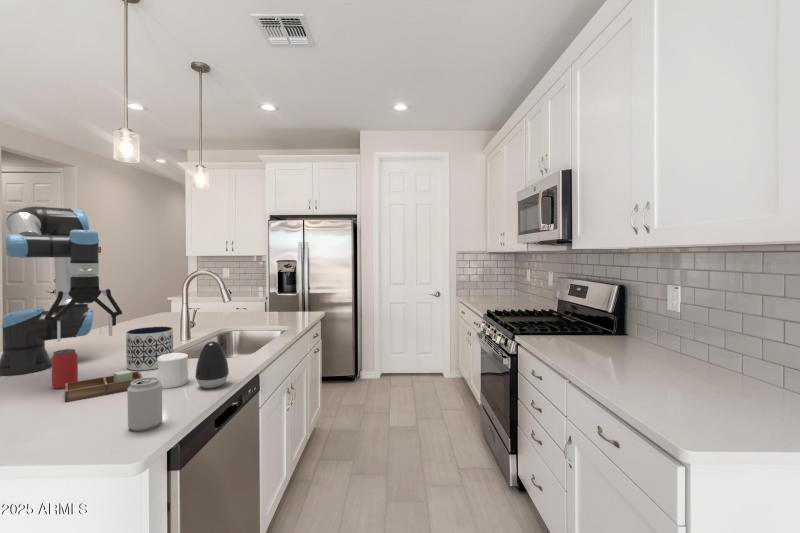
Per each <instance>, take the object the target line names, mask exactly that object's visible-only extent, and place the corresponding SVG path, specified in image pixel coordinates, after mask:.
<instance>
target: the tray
mask: <svg viewBox="0 0 800 533" xmlns="http://www.w3.org/2000/svg"><path fill="white" fill-rule="evenodd" d="M132 372H133V371H132ZM141 378H144V377H143V375H142V373H141V372H140V371H134V372H133V380H128V381H122V382H116V383H114V375H107V376H104V377H95V378H90V379H83V380H78V381H77V382H70V383H65V388H64V398H65V399H64V401H65V403H68V402H69V401H70V402H73V401H74V402H75V401H79V400H80V401H81V400H86V399H91V398H95V397H96V398H97V397H100V396H101V397H102V396H106V395H112V394H117V393H118V394H119V393H123V392H127V389H128V388H129V387H130V386H131V384H130V383H131V382H132V381H134V380H137V379H141Z"/></svg>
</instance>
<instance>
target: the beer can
mask: <svg viewBox="0 0 800 533" xmlns="http://www.w3.org/2000/svg"><path fill="white" fill-rule="evenodd" d="M51 356H52V357H51V387H52V388H53V389H56V390H62V389H64V390H65V383H70V382H77V381H79V374H78V373H79V372H78V370H79V368H78V365H79V364H78V353H77V352H76V349H73V348H68V349H67V348H65V349H59V350H56V351H54V352H53V355H51Z"/></svg>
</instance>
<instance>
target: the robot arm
mask: <svg viewBox="0 0 800 533" xmlns="http://www.w3.org/2000/svg"><path fill="white" fill-rule="evenodd" d="M5 224H6V228H7V230H8V231H9V232H10V234H7V235H6V236H5V254H6V256H7V257H8V258H9V257H10V258H22V259H23V258H54V259H53V261H54V263H53V264H54V287H55V301H54V302H53V303H52V305H51V306H50V309H49V310H45V308H44V307H35V308H34V307H33V308H26V309H19V310H15V311H12V312H7V313H5V314H4V315H3V316H2V319H1V320H2V323H1V328H2V354H1V356H0V376H17V375H18V376H19V375H24V374H30V373H36V372H40V371H43V370H47V369H49V368H52V359H51V357H50V355H49V354H48V351H47V349H46V347H45V345H46V344H45V342H46V341H53V340H57V342H62V341H61V340H62V339H71V338H78V337H83V336H84V337H85V336H87V335H88V334H89V333H90V332H91V330H92V326H93V321H94V309H93V307H89V304H92V303H93V302H95V303H96V304H97V305H98V306H100V307H101V308H102V309H103V310H104V311H105V312H107V313H108V314H109V315H110V316H109V315H108V336H109V337H112V336H113V327H115V326H117V317H118V316H119V315H123V311H122V310H121V308H120V307H119V305H118V303H117V302H116V301H115V300H116V299H114V297H113V296H112V292H111V289H109V288H105V289H100V276H98V275H99V274H100V268H99V267H100V266H99V242H100V239H99V233H98V231H97V230H91V229H90V224H89V220H88V216H87V214H86V213H85V211H84V210H81V209H76V208H75V209H74V208H69V207H68V208H67V207H66V208H65V207H64V208H63V207H62V208H61V207H47V206H36V205H35V206H28V207H26V206H25V207H23V208H20V209H17V210H14V211H12V212H11V213H10V214H9V215H8V216H7V218H6V221H5ZM101 294H103V296H106V297H107V299H108V301H109V302H110V303H111V305H112V308H114V310H115V311H114V310H112V309H111V308H110V307H109V306H107V305H106V304H105V303H104V302H103V301H101V300H100V299H99V296H100V295H101Z"/></svg>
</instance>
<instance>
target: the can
mask: <svg viewBox="0 0 800 533" xmlns="http://www.w3.org/2000/svg"><path fill="white" fill-rule="evenodd" d="M130 384H131V386H130V387H129V388H128V389H127V391H126V392H127V394H126V395H127V427H128V429H130V430H132V431H134V432H141V431H148V430H151V429H154V428H156V427H158V426H159V424H160V423H162V421H163V388H162V383H160V382H159V378H157V376H156V377H155V376H153V377H152V376H150V377H148V376H147V377H143V378H141V379H137V380H134V381H132V382H131V383H130Z"/></svg>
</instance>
